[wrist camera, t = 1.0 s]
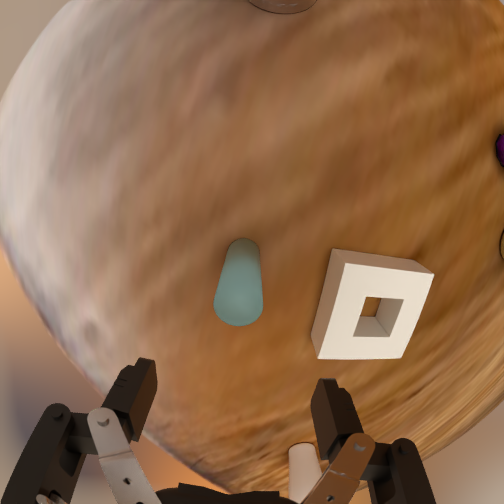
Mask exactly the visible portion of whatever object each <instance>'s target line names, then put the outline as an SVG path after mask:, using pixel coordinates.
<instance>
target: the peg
mask: <svg viewBox="0 0 504 504" xmlns="http://www.w3.org/2000/svg"><path fill="white" fill-rule="evenodd" d="M214 310H215V312H216V314H217V316H218V317H219V318H220V319H221V320H222V321H224V322H225V323H227V324H230V325H234V326H245V325H248V324H251V323H253V322H254V321H255V320H257V319H258V317H259V316H260V315H261V313H262V310H263V296H262V281H261V267H260V253H259V248H258V246H257V245H256V244H255V243H254V242H253V241H252V240H250V239H246V238H241V239H237V240H235V241H234V242H232V243H231V245H230V246H229V248H228V252H227V255H226V259H225V262H224V266H223V269H222V273H221V276H220V280H219V283H218V287H217V290H216V294H215V297H214Z"/></svg>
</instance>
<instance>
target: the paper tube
mask: <svg viewBox="0 0 504 504" xmlns="http://www.w3.org/2000/svg"><path fill="white" fill-rule="evenodd" d="M501 255H502V257H503V259H504V233H503V236H502V239H501Z"/></svg>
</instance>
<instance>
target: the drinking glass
mask: <svg viewBox="0 0 504 504" xmlns="http://www.w3.org/2000/svg"><path fill="white" fill-rule="evenodd" d="M288 453H289V499H290V500H293V501H295V502H297V503H299V504H300V503H301V502H302V501H303V499H304V498H305V497H306V496H307V495H308V493H309V492H310V491H311V489H312V488H313V487H314V485H315V484H316V483H317V481H318V480H319V479H320V477H321V476H322V472H321V469H320V465H319V462H318V458H317V455H316V450H315V447H314V445H312V444H310V443H300V444H296V445H294V446H292V447H291V448H290V449H289V452H288Z"/></svg>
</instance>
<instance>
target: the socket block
mask: <svg viewBox="0 0 504 504" xmlns="http://www.w3.org/2000/svg"><path fill="white" fill-rule="evenodd" d="M433 277H434V274H433V273H432V272H430V271H429V270H427V269H426V268H425V267H423V266H422V265H420V264H419V263H417V262H416V261H414V260H410V259H403V258H396V257H390V256H383V255H376V254H369V253H362V252H355V251H348V250H341V249H334V248H332V251H331V256H330V260H329V265H328V269H327V273H326V278H325V282H324V286H323V290H322V294H321V298H320V302H319V306H318V309H317V313H316V317H315V321H314V324H313V328H312V331H311V339H312V342H313V345H314V348H315V352H316V355H317V358H318V359H390V358H401V357H402V355H403V352H404V350H405V348H406V346H407V344H408V342H409V339H410V337H411V335H412V333H413V330H414V328H415V326H416V323H417V321H418V318H419V316H420V313H421V311H422V308H423V305H424V303H425V300H426V297H427V294H428V292H429V289H430V286H431V283H432V280H433ZM366 296H367V297H380V298H381V301H380V304H379V307H378V310H377V313H376V316H375V317H367V316H360V314H361V311H362V308H363V305H364V302H365V298H366Z"/></svg>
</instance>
